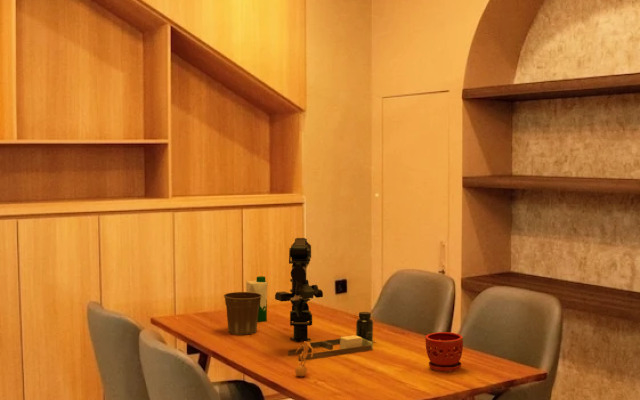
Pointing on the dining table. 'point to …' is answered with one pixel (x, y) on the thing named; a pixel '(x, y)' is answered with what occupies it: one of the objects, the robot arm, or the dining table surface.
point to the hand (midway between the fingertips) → (299, 316)
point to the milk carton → (261, 288)
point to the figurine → (301, 368)
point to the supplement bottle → (364, 326)
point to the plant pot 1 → (242, 312)
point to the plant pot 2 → (444, 351)
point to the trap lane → (329, 345)
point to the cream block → (350, 341)
